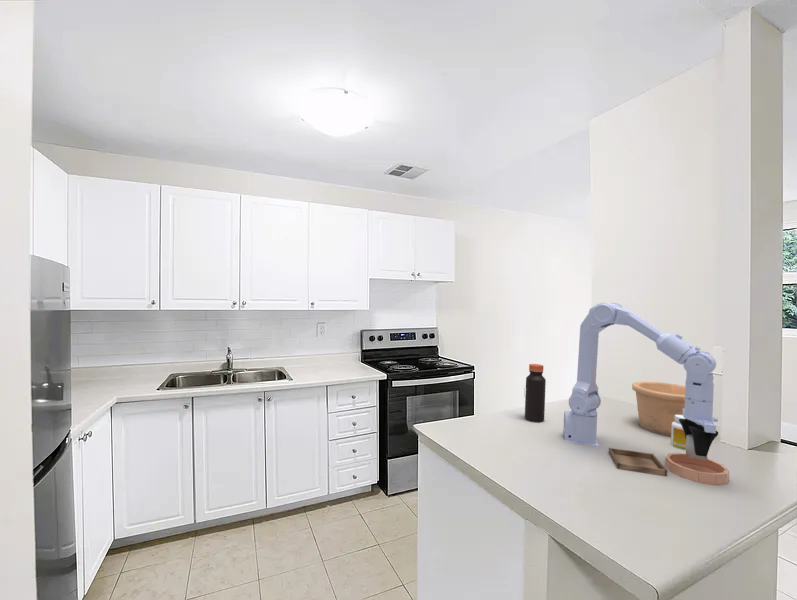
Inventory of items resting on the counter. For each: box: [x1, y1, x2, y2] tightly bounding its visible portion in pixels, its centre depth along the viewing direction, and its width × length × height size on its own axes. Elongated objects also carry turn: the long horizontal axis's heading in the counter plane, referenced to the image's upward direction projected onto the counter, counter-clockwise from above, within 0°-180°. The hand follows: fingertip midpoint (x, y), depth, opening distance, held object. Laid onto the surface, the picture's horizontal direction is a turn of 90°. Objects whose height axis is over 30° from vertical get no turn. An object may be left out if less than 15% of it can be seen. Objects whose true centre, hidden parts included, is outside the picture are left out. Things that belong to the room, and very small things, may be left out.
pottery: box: [631, 381, 685, 437], centre depth 134 cm, size 22×22×14 cm
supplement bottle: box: [670, 415, 686, 451], centre depth 117 cm, size 5×5×10 cm
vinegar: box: [524, 363, 547, 423], centre depth 140 cm, size 7×7×20 cm
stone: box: [685, 434, 708, 460], centre depth 99 cm, size 4×4×5 cm
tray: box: [608, 447, 668, 477], centre depth 103 cm, size 11×11×2 cm
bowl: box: [664, 452, 730, 486], centre depth 99 cm, size 13×13×3 cm
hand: (696, 451), depth 99 cm, fingers closed on stone, 4 cm apart
